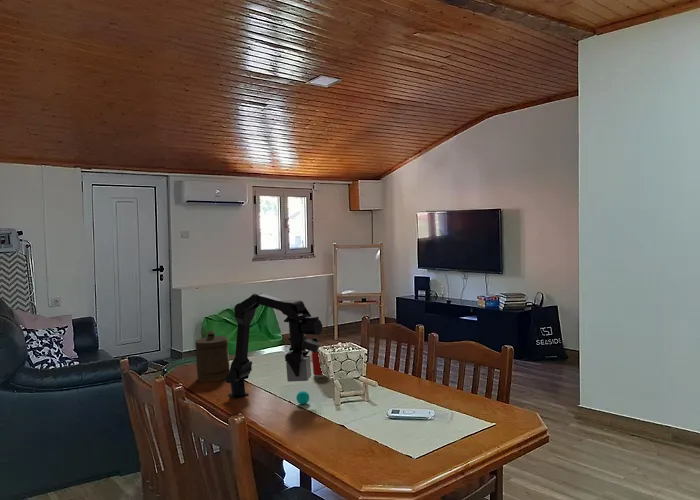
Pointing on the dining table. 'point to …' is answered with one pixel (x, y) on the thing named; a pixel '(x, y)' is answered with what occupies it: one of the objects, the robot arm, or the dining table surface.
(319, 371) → the beverage can
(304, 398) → the ball
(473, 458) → the dining table surface
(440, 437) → the dining table surface
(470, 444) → the dining table surface
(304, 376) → the dark grey block
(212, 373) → the wooden container
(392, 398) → the dining table surface
